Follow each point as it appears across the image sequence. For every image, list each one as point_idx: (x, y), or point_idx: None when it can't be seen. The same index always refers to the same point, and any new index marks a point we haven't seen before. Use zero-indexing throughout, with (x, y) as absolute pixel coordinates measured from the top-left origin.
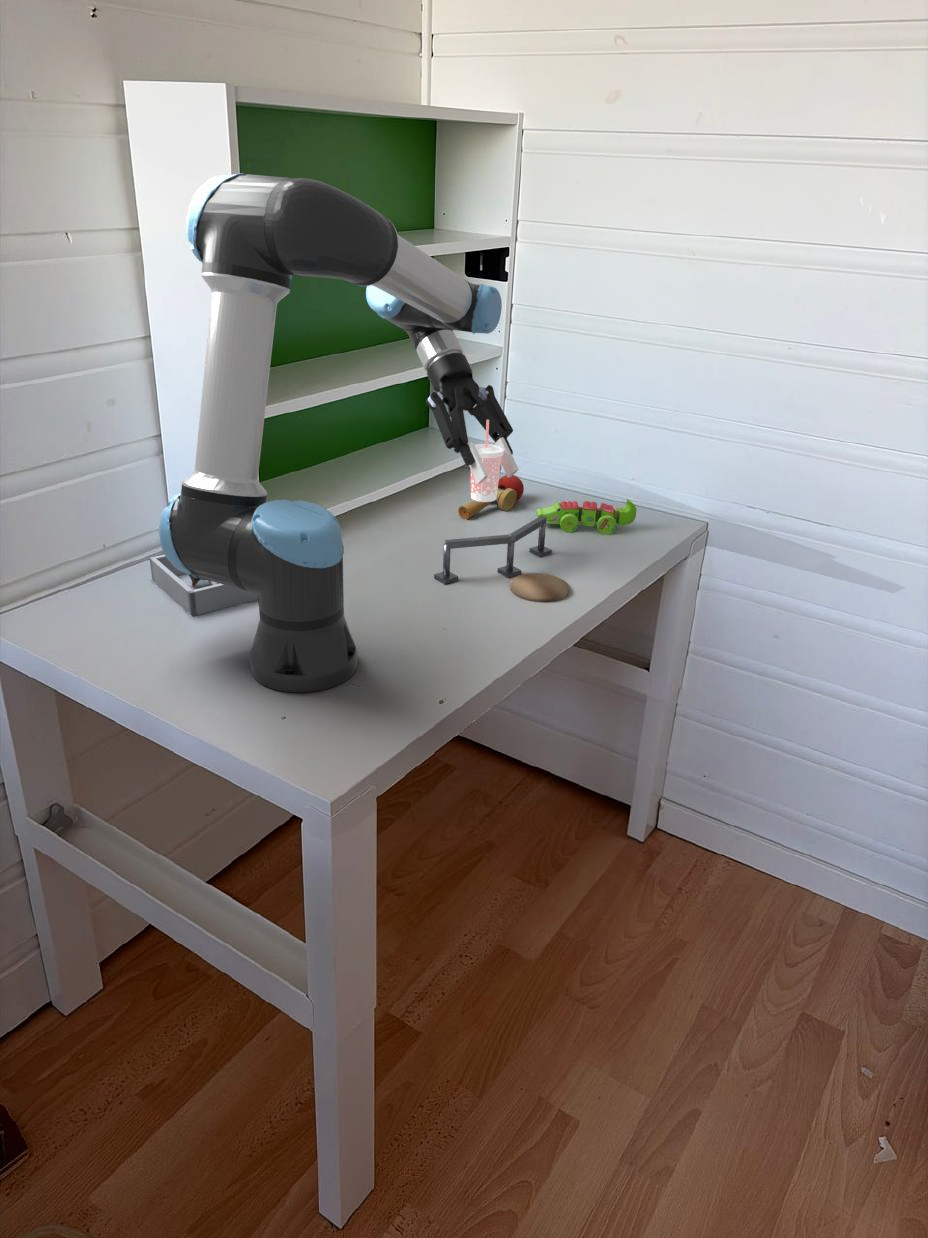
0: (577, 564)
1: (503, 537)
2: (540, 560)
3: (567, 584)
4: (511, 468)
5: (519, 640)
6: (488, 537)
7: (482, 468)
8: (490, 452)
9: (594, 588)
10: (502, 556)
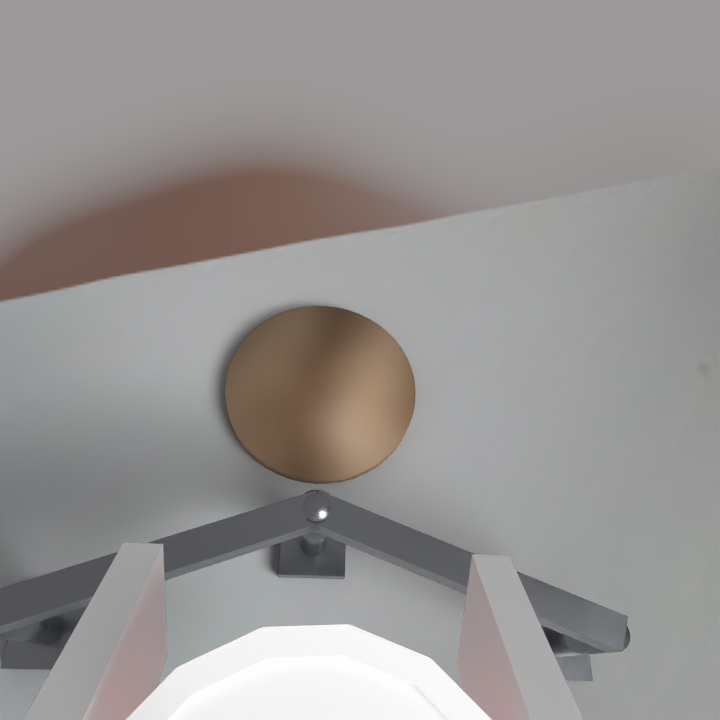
0: (49, 458)
1: (364, 510)
2: None
3: (245, 341)
4: (154, 603)
5: (560, 233)
6: (422, 552)
7: (522, 603)
8: (359, 717)
9: (178, 305)
10: None
